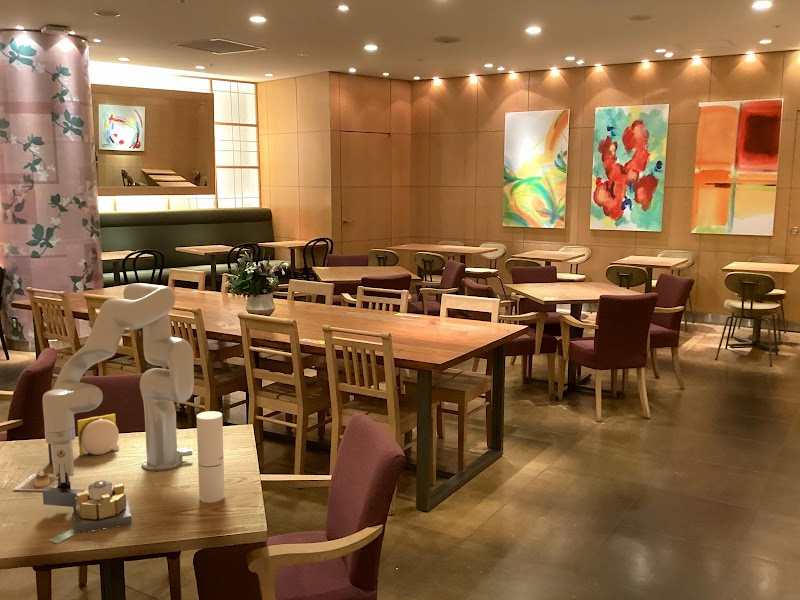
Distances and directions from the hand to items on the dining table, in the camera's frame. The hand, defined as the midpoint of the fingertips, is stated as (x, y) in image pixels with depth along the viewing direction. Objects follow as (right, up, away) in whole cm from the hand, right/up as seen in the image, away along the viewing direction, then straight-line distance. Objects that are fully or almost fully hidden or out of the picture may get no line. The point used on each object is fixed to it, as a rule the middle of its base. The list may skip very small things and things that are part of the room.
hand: (64, 496), depth 209 cm
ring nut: (+7, -2, -5) cm, 9 cm away
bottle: (-16, +2, +34) cm, 38 cm away
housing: (+10, -5, -8) cm, 14 cm away
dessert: (-14, -1, +17) cm, 23 cm away
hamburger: (-7, +3, +42) cm, 43 cm away
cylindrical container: (+39, -3, +9) cm, 40 cm away
